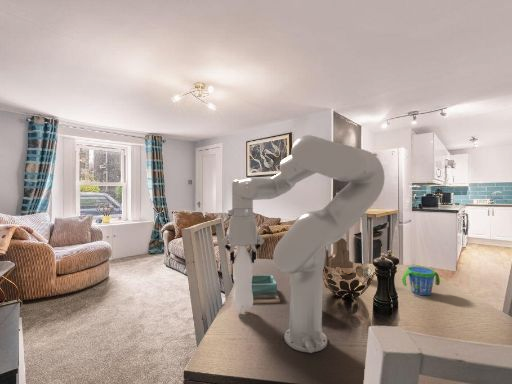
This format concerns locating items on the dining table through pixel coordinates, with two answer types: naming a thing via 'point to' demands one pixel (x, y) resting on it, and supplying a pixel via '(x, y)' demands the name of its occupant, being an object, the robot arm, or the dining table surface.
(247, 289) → the water bottle
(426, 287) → the snack cup
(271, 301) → the bottle stand
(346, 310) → the dining table surface
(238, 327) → the dining table surface
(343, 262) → the wooden toy
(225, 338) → the dining table surface
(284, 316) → the dining table surface
